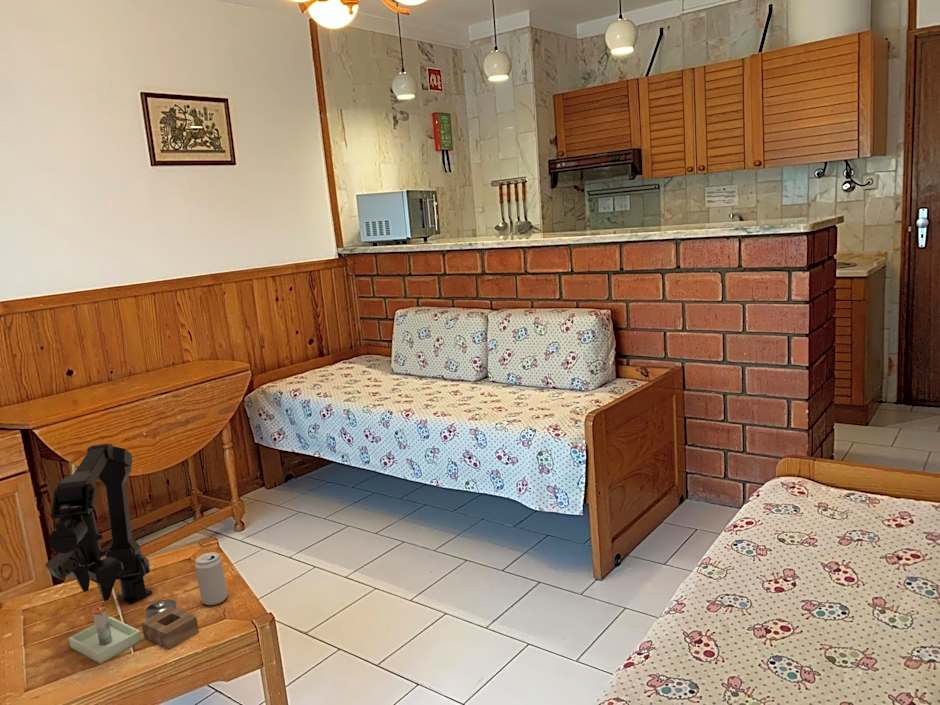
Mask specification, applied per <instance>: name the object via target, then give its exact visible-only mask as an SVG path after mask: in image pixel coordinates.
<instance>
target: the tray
mask: <svg viewBox="0 0 940 705" xmlns="http://www.w3.org/2000/svg"><path fill="white" fill-rule="evenodd" d="M108 621H109V626H110V631H111V635H112V642H111V643H110V644H108V645H104V646H101V645H99V640H98V635H97V631H96V626H95V624H93V625H91V626H89V627H87V628H85V629H83V630H81V631H79V632H78V633H76V634H74V635H71V636H69V637H68V642H69V645H70V646H69V647H70V648H71V649H72V650H74V651H76V652H78V653H80V654H81V655H83V656H85V657H86V658H88V659H90V660H91V661H94V662H96V663H97V664H98V665H102V664H103V663H105V662H107V661H109V660H110V659H112V658H114V657H116V656H117V655H119V654H120V653H123V652H124V651H127V650H128V649H130V648H132V647H133V646H135V645H137V644H138V643H140V642H142V641H143V638H142V633H141V630H140V629H137V628H135V627H133V626H131V625H129V624H127V623H125V622H123V621H121V620H119V619H117V618H114V617H112V616H108Z"/></svg>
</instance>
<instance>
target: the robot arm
mask: <svg viewBox="0 0 940 705" xmlns="http://www.w3.org/2000/svg"><path fill="white" fill-rule="evenodd" d="M86 450H87V451H86V454H85V456H84V457H83V459H82V461H81V462H80V463H79V465H78V466H77V468H76V469H75V471H74V472H73V474H70V475H68V476H66V477H64V478H63V479H61V481H59V482H58V484H57V485H56V487H55V489H54V490H53V499H52V508H51V509H52V510H51V511H52V512H51V519H52V520H57V519H59V520H58V521H57V522H56V523H55V525H54V526H55V529H54V530H52V532H51V533H50V535H49V538H48V545H49V546H50V548H51V550H53V551H54V552H57V554H56V555H54V556H53V557H51V559H49V561H47V562H46V563H45V565H44V566H45V568H46V569H47V570H48V572H49V573H50V574H51V575H52V577H55V578H56V579H59V580H61V579H65V578H66V577H67V576H68V575H70V574H72V575H73V577H74V578H75V580H76V582H77V584H78V585H79V587H80V588H81V590H82V592H83V593H85V592H88V591H89V590H90V581H91V582H94V583H96V585H97V587H98V590H99V592H100V596H101V598H102V601H103V602H108V601H110V598H111V596H112V591H113V588H114V586H115V583H116V581H117V580H118V581H119V586H120V587H119V588H120V591H121V594H119V595H117V596H116V599H117V600H118V601H121V602H123V603H125V604H128V605H131V604H134V603H136V602H138V601H140V600H141V599H143V598H145V597H147V596H149V595H152V593H153V591H152V590H150V589H148V588H146V584H145V578H144V577H145V576H146V575H148V574H149V573H150V572H151V568H150V560H149V559H148V558H147V557H145V555H144V554H143V553H142V549H141V546H140V544H139V543H137V541H136V540H135V539H134V537H133V532H132V523H131V515H130V508H129V498H128V497H129V496H128V489H127V480H128V479H129V477H130V475H131V473H132V465H133V456H132V453H131V452H130V451H129V450H127V449H125V448H122V447H118V446H113V445H112V444H111V443H100V444H94V445H93V444H92V445H90V446H88V448H87V449H86ZM98 479H99V480H100V482H101V483H102V484H103V485H104V486H105V490H106V491H105V492H106V498H107V508H108V516H109V525H110V535H111V544H110V547H109V549H108V550H107V551H106V550H104V549H102V548H101V543H100V540H102V539H103V534H102V533H100V532H98V527H97V523H96V522H97V521H96V518H95V512H94V508H95V504H96V496H97V488H96V486H95V483H96V482H97V480H98ZM61 508H62V509H61ZM104 556H105V558H104V559H101V558H102V557H104Z"/></svg>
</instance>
